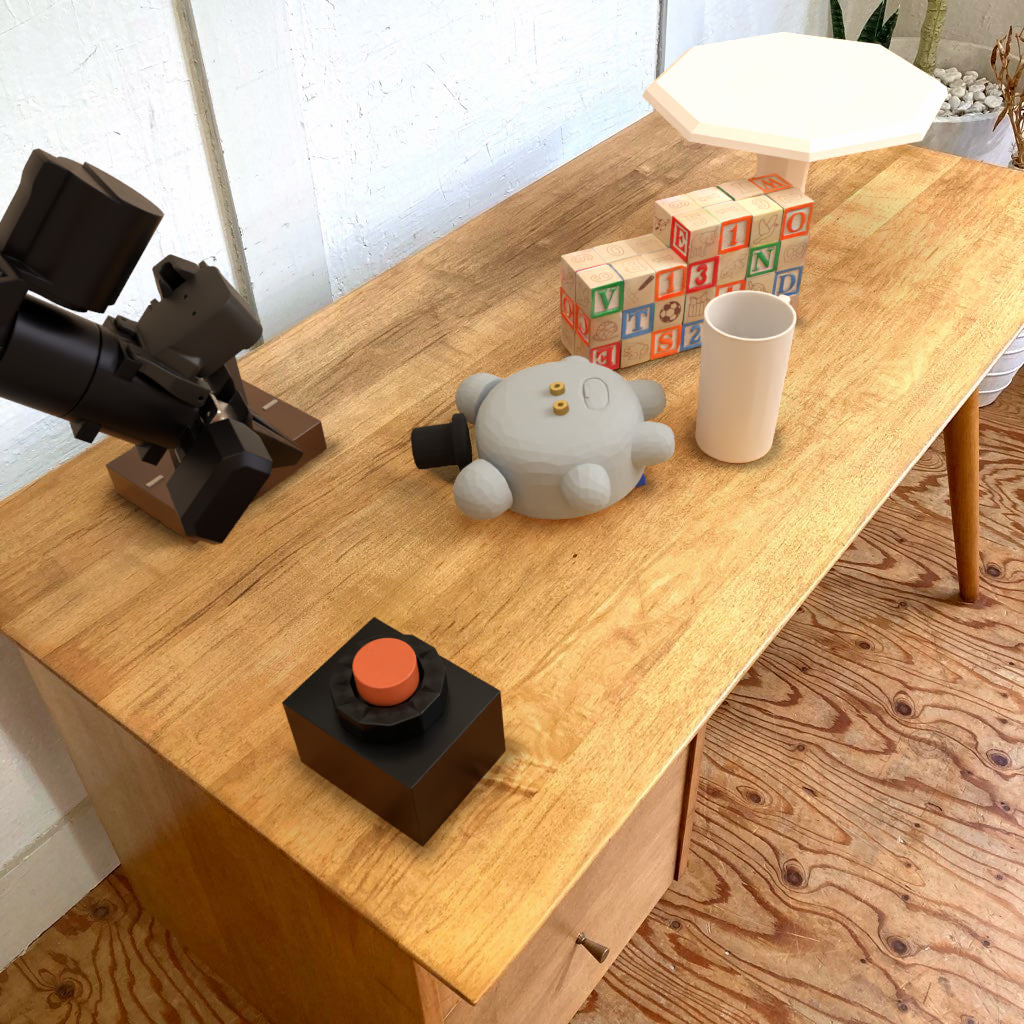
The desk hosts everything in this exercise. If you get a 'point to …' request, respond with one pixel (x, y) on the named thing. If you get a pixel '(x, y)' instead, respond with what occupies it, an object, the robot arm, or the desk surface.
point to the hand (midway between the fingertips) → (298, 456)
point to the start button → (386, 672)
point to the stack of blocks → (683, 270)
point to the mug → (742, 373)
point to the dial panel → (149, 481)
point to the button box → (399, 735)
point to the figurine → (548, 440)
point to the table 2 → (796, 99)
